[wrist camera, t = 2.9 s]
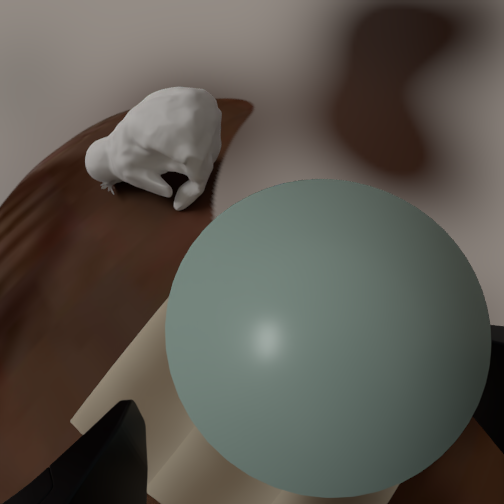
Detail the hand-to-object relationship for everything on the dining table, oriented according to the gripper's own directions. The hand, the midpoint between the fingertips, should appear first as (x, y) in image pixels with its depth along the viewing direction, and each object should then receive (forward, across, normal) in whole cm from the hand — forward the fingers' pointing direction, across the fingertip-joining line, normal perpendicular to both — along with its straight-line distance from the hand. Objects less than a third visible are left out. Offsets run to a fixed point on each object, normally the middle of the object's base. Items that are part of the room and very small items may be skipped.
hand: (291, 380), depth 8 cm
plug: (+6, 0, +6) cm, 8 cm away
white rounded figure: (+19, +5, -7) cm, 21 cm away
